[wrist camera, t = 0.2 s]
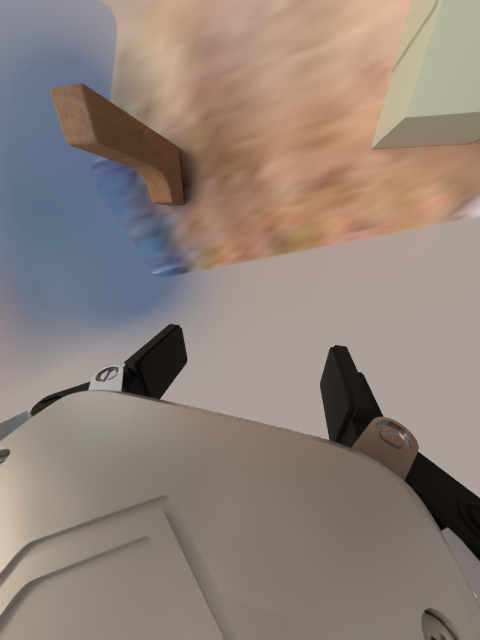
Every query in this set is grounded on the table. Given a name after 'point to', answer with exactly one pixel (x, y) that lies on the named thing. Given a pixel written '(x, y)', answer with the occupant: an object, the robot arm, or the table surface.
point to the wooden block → (119, 140)
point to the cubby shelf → (434, 78)
